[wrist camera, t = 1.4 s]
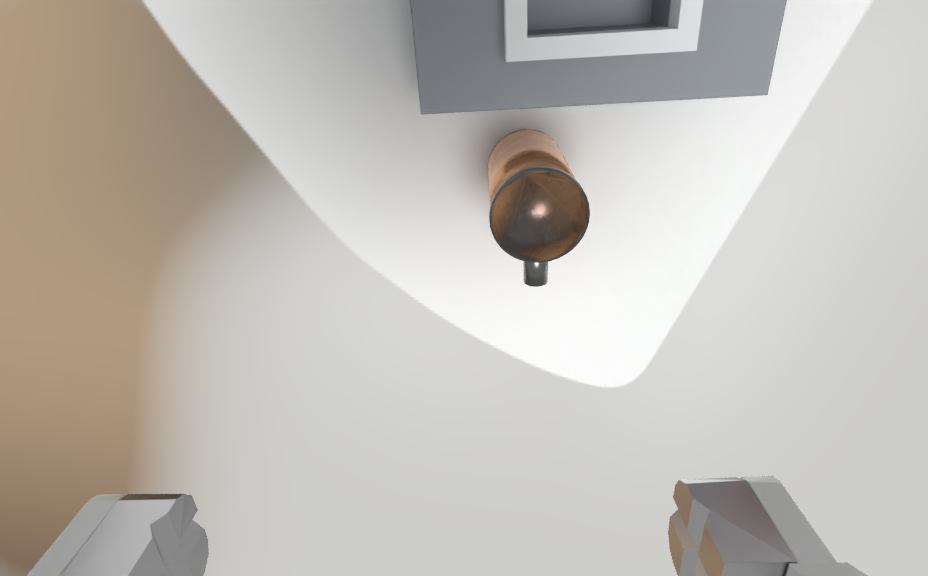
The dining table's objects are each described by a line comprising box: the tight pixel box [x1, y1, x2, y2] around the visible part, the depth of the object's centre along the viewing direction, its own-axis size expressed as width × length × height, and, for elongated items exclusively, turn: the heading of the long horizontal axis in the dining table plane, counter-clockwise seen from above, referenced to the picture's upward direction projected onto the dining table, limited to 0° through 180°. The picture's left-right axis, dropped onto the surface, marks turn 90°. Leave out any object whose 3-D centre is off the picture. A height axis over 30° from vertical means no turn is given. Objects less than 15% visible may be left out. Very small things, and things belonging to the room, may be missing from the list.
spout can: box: [488, 130, 590, 286], centre depth 33 cm, size 7×5×9 cm
